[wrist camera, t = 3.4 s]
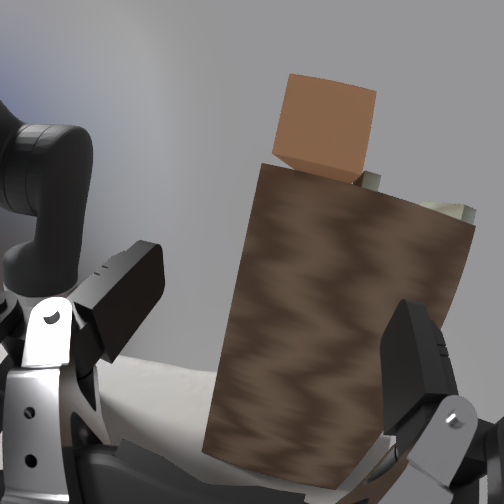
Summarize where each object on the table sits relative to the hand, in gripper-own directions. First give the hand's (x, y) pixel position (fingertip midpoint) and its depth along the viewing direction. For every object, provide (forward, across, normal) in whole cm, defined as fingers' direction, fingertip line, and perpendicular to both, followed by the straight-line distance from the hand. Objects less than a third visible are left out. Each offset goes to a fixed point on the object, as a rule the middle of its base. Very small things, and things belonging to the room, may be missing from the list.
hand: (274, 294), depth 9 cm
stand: (+8, -4, +32) cm, 33 cm away
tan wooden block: (+17, -1, +1) cm, 17 cm away
